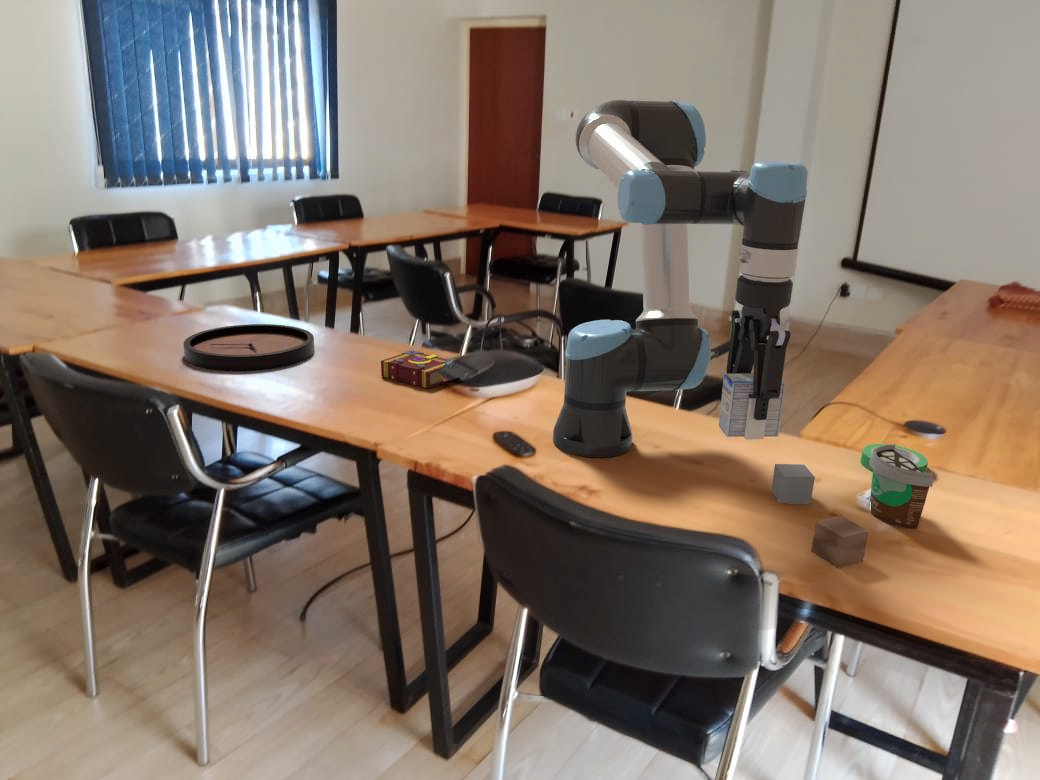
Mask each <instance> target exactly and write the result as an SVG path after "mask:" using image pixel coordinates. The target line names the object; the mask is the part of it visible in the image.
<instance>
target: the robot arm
mask: <svg viewBox="0 0 1040 780" xmlns="http://www.w3.org/2000/svg"><path fill="white" fill-rule="evenodd" d="M706 138H707V137H706V128H705V122H704V119H703V116H702V115H701V113H700V111H699V110H698V109H697V108H696V106H695V105H692V104H691V103H685V102H678V101H674V100H669V101H656V100H655V101H654V100H652V101H651V100H627V99H614V100H610V101H606V102H602V103H600V104H598V105H596V106H594V107H593V108H592V109H590V110H589V111H588V112H587V113H586V114H584V116H583V117H582V118H581V119H580V122H579V123H578V126H577V127H576V132H575V146H576V149H577V152H578V154H579V156H580V158H582V160H583V162H585V163H586V164H587V165H588V166H589V167H591V168H593V169H596V170H599V171H601V172H602V173H603V174H604V175H605V177H606V178H608V180H609V181H610V182H611V183H612V184H613V185H614V186H615V188H617V191H618V192H617V206H618V210H619V215H620V217H621V219H622V220H623V221H624V222H626V223H630V224H640V225H641V228H640V229H641V257H642V260H641V261H642V262H641V263H642V297H643V298H642V300H643V301H642V302H643V303H642V304H643V305H642V306H643V311H642V313H641V314H640V315H639V316H638V317H637V318H636V320H635V329H634V328H632V327H631V324H630V323H628V322H627V321H625V320H624V321H623V320H619V319H614V320H611V319H599V320H597V319H596V320H591V321H587V322H583V323H580V324H578V325H577V326H575V327H573V328H572V329H571V330H569V331H570V332H569V333H568V336H567V341H566V342H567V343H566V349H565V352H564V353H565V373H564V377H565V378H564V396H563V404H562V406H561V410H560V412H559V414H558V417H557V419H556V422H555V425H554V427H553V431H552V432H553V436H552V441H553V442H552V443H553V445H555V446H556V448H558V449H559V450H561V451H563V452H565V453H568V454H572V455H575V456H580V457H587V458H609V457H616V456H619V455H622V454H625V453H627V452H628V451H630V450H631V448H632V445H633V444H632V443H633V442H632V441H633V432H632V428H631V423H630V419H629V416H628V413H627V408H626V402H627V401H626V399H627V393H628V392H647V391H648V392H649V391H651V392H653V391H657V392H658V391H671V392H672V391H673V392H675V391H676V392H678V391H679V390H691V389H694V388H696V387H697V386H699V385H700V384H701V383H702V382H703V380H704V379H705V376H706V375H707V373H708V370H709V366H710V363H711V362H710V361H711V356H712V355H711V354H712V344H711V339H710V338H709V337H710V335H709V333H708V331H707V330H706V329H705V328H702V327H701V326H700V327H699V317H698V316H697V315H696V314H694V312H693V311H692V310H691V309H690V277H689V276H690V275H689V271H690V270H689V269H690V268H689V238H688V237H689V235H688V234H689V233H688V231H689V230H688V225H736V226H742V227H743V231H742V239H741V249H740V253H739V254H738V258H739V259H738V260H739V266H738V267H739V268H738V272H739V273H741V275H739V277H737V280H736V288H735V295H734V297H735V302H737V303H738V304H740V305H741V306H742V307H741V309H736V310H735V309H733V310H731V314H730V316H731V328H730V329H731V330H730V337H729V346H728V353H727V362H726V369H725V370H726V372H725V373H726V374H745V373H747V374H748V373H752V370H753V373H754V374H753V394H748V395H749V404H748V412H747V419H746V427H745V435H744V437H743V438H744V439H745V440H747V441H749V440H764V439H765V437H764V432H765V425H766V418H767V412H768V404H769V400H770V398H779V396H780V390H781V383H782V380H783V375H784V369H785V368H784V367H785V362H786V361H785V360H786V352H787V347H788V344H789V342H790V339H791V331H790V330H784V329H783V328H782V327H781V310H783V309H785V308H787V307H789V306H790V304H791V299H792V293H793V292H792V291H793V286H794V282H793V280H792V279H791V278H792V277H794V276H795V275H796V265H797V258H798V251H799V242H800V235H801V230H802V224H803V216H804V211H805V206H806V205H805V203H806V199H807V195H808V190H807V181H808V175H809V174H808V173H809V172H808V169H807V167H806V165H804V164H802V163H800V162H799V163H798V162H787V161H783V162H782V161H756V162H755V163H754V164H753V165H752V166H751V169H750V172H748V171H746V170H742V169H741V170H735V169H732V170H726V171H702V170H701V171H697V170H696V171H695V167H697V166H699V165H700V164H701V163H702V160H703V159H704V156H705V148H706V144H707V141H706V140H707V139H706Z"/></svg>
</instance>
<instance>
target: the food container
mask: <svg viewBox="0 0 1040 780" xmlns="http://www.w3.org/2000/svg"><path fill="white" fill-rule="evenodd" d="M895 445H896V444H893V443H891V444H890V445H883V446H880V447H878V448H877V449H876V451H875V452H874V453H873V455H872V457H871V459H870V462H869V464H870V466H871V468H872V469H873V472H872V475H871V487H870V497H869V503H870V502H871V513H870V514H871V515H872V516H873V517H874V518H876V519H877V520H879V521H881V522H883V523H885V524H888V525H891V526H895V527H897V528H902V529H903V528H904V529H910V530H911V529H913V530H914V529H915V530H917V529H918V527H919V524H920V521H921V517H922V514H923V512H924V511H923V510H924V507H925V503H926V500H927V496H928V492H929V490H930V488H933V486H934V485H933V484H934V477H933V476H934V473H933V472H927V471H926V472H922V471H921V470H920V469H919V468H918V467H917V466H916V465H915V464H914V463H913V462H912V461H911V460H909V459H907V458H905V457H903V456H901V455H900V454H899V453H897V452H896V451H895Z"/></svg>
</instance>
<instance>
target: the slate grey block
mask: <svg viewBox="0 0 1040 780" xmlns="http://www.w3.org/2000/svg"><path fill="white" fill-rule="evenodd" d="M773 467H774V469H773V475H772V483H771V492H772V493H773V495H774V496H775V498H776V500H779V501H778V502H779V504H780V503H789V504H790V503H791V504H792V505H811V503H812V498H813V497H812V496H813V491H814V487H815V486H814V485H815V479H816V476H814V474H813V473H812V472H811V470H810V469H809V468H808V467H807V466H806V465H805V464H797V463H795V464H793V463H792V464H791V463H790V464H789V463H788V464H787V463H774V466H773ZM789 504H788V505H789ZM791 504H790V505H791Z"/></svg>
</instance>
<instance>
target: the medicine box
mask: <svg viewBox="0 0 1040 780" xmlns="http://www.w3.org/2000/svg"><path fill="white" fill-rule="evenodd" d="M753 374H754V372H753V373H752V372H751V373H748V374H747V373H745V374H727V373H725V374H723V380H722V382H723V383H722V389H721V400H720V401H721V403H720V409H719V417H718V418H719V420H718V427H719V429H720V430H721V432H722V433H723V434H724V435H725V437H726V438H739V437H740V438H744V435H745V427H746V419H747V412H748V404H749V395H748V394H753ZM785 390H786V382H785V381H784V380H783V379H782V383H781V390H780V396H779V398H770V400H769V404H768V412H767V418H766V425H765V432H764V438H766V437H770V438H771V437H774V438H775V437H779V435H780V427H781V420H782V411H783V406H784V405H783V404H784V399H785V392H786V391H785Z"/></svg>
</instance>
